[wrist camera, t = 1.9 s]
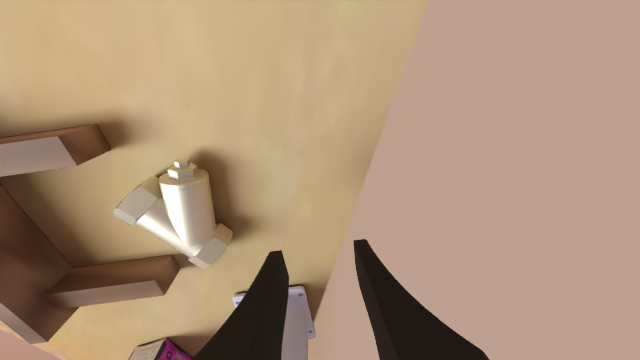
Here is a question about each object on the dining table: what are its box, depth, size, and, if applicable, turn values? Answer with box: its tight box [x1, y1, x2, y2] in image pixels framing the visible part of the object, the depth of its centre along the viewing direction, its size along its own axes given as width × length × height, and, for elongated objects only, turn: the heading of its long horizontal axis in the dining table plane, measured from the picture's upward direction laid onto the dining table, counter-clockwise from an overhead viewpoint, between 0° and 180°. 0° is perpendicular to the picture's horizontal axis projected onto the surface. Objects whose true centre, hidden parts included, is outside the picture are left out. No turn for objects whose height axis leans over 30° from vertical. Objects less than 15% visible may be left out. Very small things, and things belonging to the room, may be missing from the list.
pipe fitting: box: [113, 159, 233, 268], centre depth 19 cm, size 8×4×7 cm
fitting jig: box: [0, 124, 180, 344], centre depth 18 cm, size 18×12×5 cm, turn 8°
